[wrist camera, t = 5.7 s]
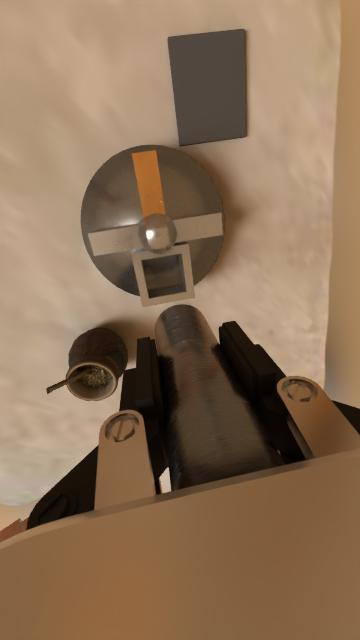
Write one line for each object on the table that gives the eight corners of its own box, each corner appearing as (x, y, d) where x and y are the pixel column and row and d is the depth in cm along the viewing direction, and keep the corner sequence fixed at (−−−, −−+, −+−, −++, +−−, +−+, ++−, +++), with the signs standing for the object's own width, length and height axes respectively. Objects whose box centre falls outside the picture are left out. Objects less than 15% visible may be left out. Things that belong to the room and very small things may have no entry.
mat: (167, 39, 22) (168, 36, 22) (242, 31, 23) (244, 28, 22) (179, 146, 26) (180, 145, 26) (244, 137, 26) (246, 136, 26)
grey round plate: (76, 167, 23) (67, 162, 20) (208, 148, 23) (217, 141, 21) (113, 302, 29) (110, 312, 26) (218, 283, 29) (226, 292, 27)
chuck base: (67, 161, 25) (58, 156, 22) (212, 141, 26) (220, 134, 23) (106, 299, 32) (103, 308, 29) (221, 279, 33) (228, 286, 30)
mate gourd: (130, 366, 36) (124, 420, 28) (75, 367, 35) (52, 423, 26) (129, 322, 33) (123, 366, 25) (70, 321, 32) (41, 367, 23)
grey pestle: (150, 309, 14) (167, 516, 5) (204, 300, 14) (319, 479, 5) (159, 355, 15) (186, 584, 6) (208, 346, 15) (306, 554, 6)
